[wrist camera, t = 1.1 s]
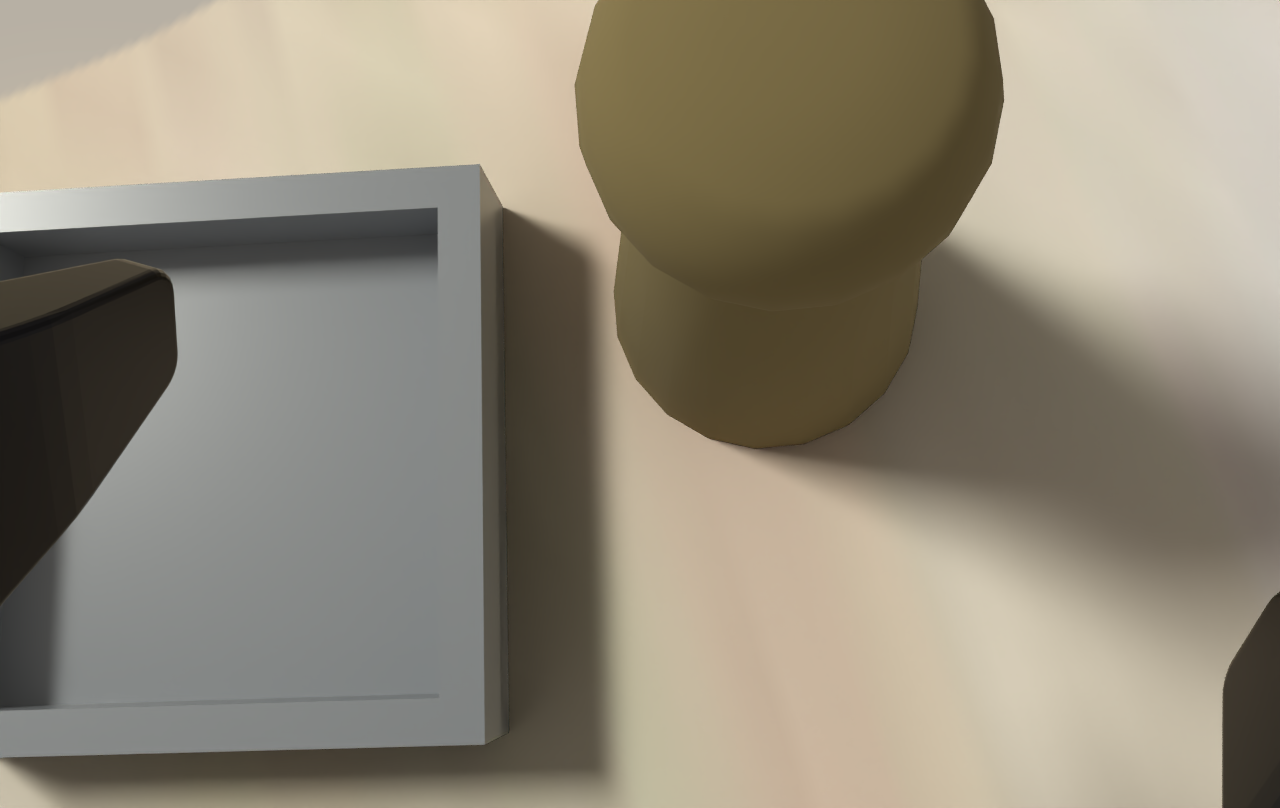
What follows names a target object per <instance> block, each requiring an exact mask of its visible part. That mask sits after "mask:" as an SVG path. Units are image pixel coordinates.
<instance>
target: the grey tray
mask: <svg viewBox="0 0 1280 808" xmlns="http://www.w3.org/2000/svg"><path fill="white" fill-rule="evenodd" d="M112 259H126V260H129V261H133V262H137V263H140V264H144V265H147V266H151V267H154V268H158V269H161V270H163V271H164V272H165V273H166V274H167V275H168V276H169V277H170V279H171V282H172V284H173V289H174V301H175V317H176V332H177V348H178V359H177V366H176V370H175V373H174V376H173V378H172V380H171V382H170V384H169V386H168V387H167V389H166V390H165V392H164V393H163V395H162V396H161V397H160V399H159V400H158V402H157V403H156V405H155V406H154V408H153V409H152V410H151V412H150V413H149V415H148V416H147V418H146V419H145V421H144V422H143V424H142V425H141V426H140V428H139V429H138V431H137V432H136V434H135V435H134V437H133V438H132V440H131V441H130V442H129V444H128V445H127V447H126V448H125V450H124V451H123V453H122V454H121V456H120V457H119V458H118V460H117V461H116V463H115V464H114V466H113V467H112V469H111V470H110V471H109V473H108V474H107V476H106V477H105V479H104V480H103V482H102V483H101V485H100V486H99V487H98V489H97V490H96V492H95V493H94V495H93V496H92V497H91V499H90V500H89V501H88V503H87V504H86V505H85V507H84V508H83V510H82V511H81V512H80V514H79V515H78V516H77V518H76V519H75V520H74V521H73V522H72V524H71V525H70V526H69V527H68V528H67V530H66V531H65V532H64V533H63V535H62V536H61V537H60V538H59V539H58V541H57V542H56V543H55V544H54V545H53V546H52V547H51V549H50V550H49V551H48V552H47V553H46V554H45V555H44V557H43V558H42V559H41V560H40V561H39V562H38V564H37V565H36V566H35V567H34V568H33V569H32V570H31V572H30V573H29V574H28V575H27V576H26V577H25V579H24V580H23V581H22V582H21V583H20V584H19V585H18V587H17V588H16V589H15V590H14V591H13V592H12V593H11V595H10V596H9V597H8V598H7V599H6V600H5V602H4V603H3V604H2V605H1V606H0V758H2V757H39V756H77V755H115V754H153V753H190V752H228V751H266V750H303V749H341V748H379V747H416V746H454V745H485V744H487V743H489V742H491V741H493V740H495V739H497V738H499V737H501V736H503V735H505V734H507V733H509V689H508V607H507V525H506V443H505V361H504V279H503V206H502V204H501V202H500V200H499V199H498V197H497V195H496V193H495V191H494V189H493V188H492V186H491V184H490V182H489V180H488V178H487V177H486V175H485V173H484V171H483V169H482V167H481V166H480V164H476V165H459V166H442V167H425V168H408V169H391V170H375V171H358V172H341V173H324V174H307V175H290V176H273V177H256V178H239V179H222V180H205V181H188V182H172V183H155V184H138V185H121V186H104V187H87V188H70V189H53V190H36V191H19V192H2V193H0V281H4V280H9V279H14V278H19V277H25V276H30V275H35V274H40V273H45V272H50V271H55V270H61V269H66V268H71V267H76V266H81V265H86V264H91V263H97V262H102V261H107V260H112Z"/></svg>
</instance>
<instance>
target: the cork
mask: <svg viewBox="0 0 1280 808" xmlns="http://www.w3.org/2000/svg"><path fill="white" fill-rule="evenodd" d="M575 95H576V108H577V120H578V133H579V146H580V149H581V152H582V155H583V157H584V160H585V163H586V166H587V168H588V170H589V172H590V175H591V177H592V179H593V182H594V184H595V186H596V188H597V191H598V193H599V195H600V198H601V200H602V202H603V204H604V207H605V209H606V211H607V214H608V216H609V218H610V220H611V221H612V222H613V223H614V225H615V226H616V227H617V228H618V229H619V230H620V231H621V238H620V246H619V254H618V262H617V270H616V278H615V286H614V299H615V312H616V324H617V336H618V339H619V341H620V344H621V346H622V348H623V350H624V353H625V355H626V357H627V360H628V362H629V364H630V367H631V369H632V371H633V374H634V376H635V378H636V380H637V381H638V382H639V383H640V384H641V385H642V387H643V388H644V389H645V390H646V391H647V392H648V393H649V394H650V396H651V397H652V398H653V399H654V400H655V401H656V402H657V404H658V405H659V406H660V407H661V408H662V409H663V410H664V411H665V413H666V414H668V415H669V416H671V417H673V418H674V419H676V420H678V421H680V422H681V423H683V424H685V425H686V426H688V427H690V428H692V429H693V430H695V431H697V432H698V433H700V434H702V435H704V436H705V437H707V438H710V439H714V440H719V441H723V442H728V443H732V444H737V445H742V446H746V447H751V448H755V449H756V448H767V447H777V446H788V445H799V444H805V443H807V442H810V441H812V440H814V439H817V438H819V437H821V436H824V435H826V434H828V433H831V432H833V431H836V430H838V429H840V428H843V427H845V426H847V425H849V424H850V423H851V422H852V421H853V420H855V419H856V418H857V417H858V416H859V415H860V414H861V413H863V412H864V411H865V410H866V409H867V408H868V407H869V406H871V405H872V404H873V403H874V402H875V401H876V400H877V399H879V398H880V397H881V396H882V395H883V394H884V393H885V391H886V390H887V388H888V386H889V385H890V383H891V381H892V379H893V378H894V376H895V374H896V373H897V371H898V369H899V367H900V366H901V364H902V362H903V361H904V359H905V357H906V355H907V354H908V351H909V346H910V341H911V336H912V331H913V326H914V321H915V316H916V311H917V305H918V294H919V282H920V271H921V260H922V259H923V258H924V257H925V256H926V255H927V254H928V253H929V252H931V251H932V250H933V249H934V248H935V247H936V246H937V245H939V244H940V243H941V242H942V241H943V240H944V239H946V238H947V237H948V236H949V234H950V233H951V231H952V230H953V228H954V226H955V225H956V223H957V222H958V220H959V218H960V217H961V215H962V213H963V212H964V210H965V208H966V206H967V205H968V203H969V201H970V200H971V198H972V196H973V195H974V193H975V191H976V189H977V188H978V186H979V184H980V183H981V181H982V179H983V177H984V176H985V174H986V172H987V171H988V169H989V167H990V165H991V164H992V159H993V154H994V149H995V144H996V139H997V134H998V128H999V123H1000V118H1001V113H1002V108H1003V103H1004V91H1003V77H1002V70H1001V63H1000V57H999V50H998V43H997V37H996V30H995V23H994V18H993V16H992V14H991V12H990V10H989V8H988V7H987V5H986V3H985V1H984V0H598V2H597V4H596V5H595V8H594V12H593V16H592V19H591V23H590V27H589V31H588V35H587V39H586V43H585V47H584V50H583V54H582V58H581V62H580V66H579V70H578V74H577V78H576V81H575Z"/></svg>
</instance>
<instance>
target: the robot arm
mask: <svg viewBox="0 0 1280 808" xmlns="http://www.w3.org/2000/svg"><path fill="white" fill-rule="evenodd" d="M177 359H178V348H177V332H176V317H175V301H174V289H173V284H172V282H171V279H170V277H169V276H168V275H167V274H166V273H165V272H164V271H163V270H161V269H158V268H154V267H151V266H147V265H144V264H140V263H137V262H133V261H129V260H126V259H112V260H107V261H102V262H97V263H91V264H86V265H81V266H76V267H71V268H66V269H61V270H55V271H50V272H45V273H40V274H35V275H30V276H25V277H19V278H14V279H9V280H4V281H0V606H1V605H2V604H3V603H4V602H5V600H6V599H7V598H8V597H9V596H10V595H11V593H12V592H13V591H14V590H15V589H16V588H17V587H18V585H19V584H20V583H21V582H22V581H23V580H24V579H25V577H26V576H27V575H28V574H29V573H30V572H31V570H32V569H33V568H34V567H35V566H36V565H37V564H38V562H39V561H40V560H41V559H42V558H43V557H44V555H45V554H46V553H47V552H48V551H49V550H50V549H51V547H52V546H53V545H54V544H55V543H56V542H57V541H58V539H59V538H60V537H61V536H62V535H63V533H64V532H65V531H66V530H67V528H68V527H69V526H70V525H71V524H72V522H73V521H74V520H75V519H76V518H77V516H78V515H79V514H80V512H81V511H82V510H83V508H84V507H85V505H86V504H87V503H88V501H89V500H90V499H91V497H92V496H93V495H94V493H95V492H96V490H97V489H98V487H99V486H100V485H101V483H102V482H103V480H104V479H105V477H106V476H107V474H108V473H109V471H110V470H111V469H112V467H113V466H114V464H115V463H116V461H117V460H118V458H119V457H120V456H121V454H122V453H123V451H124V450H125V448H126V447H127V445H128V444H129V442H130V441H131V440H132V438H133V437H134V435H135V434H136V432H137V431H138V429H139V428H140V426H141V425H142V424H143V422H144V421H145V419H146V418H147V416H148V415H149V413H150V412H151V410H152V409H153V408H154V406H155V405H156V403H157V402H158V400H159V399H160V397H161V396H162V395H163V393H164V392H165V390H166V389H167V387H168V386H169V384H170V382H171V380H172V378H173V376H174V373H175V370H176V366H177ZM1222 808H1280V592H1279V593H1277V594H1276V595H1275V596H1274V597H1273V598H1272V599H1271V600H1270V602H1269V603H1268V604H1267V606H1266V608H1265V609H1264V611H1263V612H1262V614H1261V616H1260V617H1259V619H1258V620H1257V622H1256V624H1255V625H1254V627H1253V628H1252V630H1251V632H1250V633H1249V635H1248V636H1247V638H1246V640H1245V641H1244V643H1243V644H1242V646H1241V648H1240V649H1239V651H1238V652H1237V654H1236V656H1235V657H1234V659H1233V660H1232V662H1231V664H1230V666H1229V669H1228V671H1227V674H1226V677H1225V681H1224V687H1223V718H1222Z"/></svg>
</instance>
